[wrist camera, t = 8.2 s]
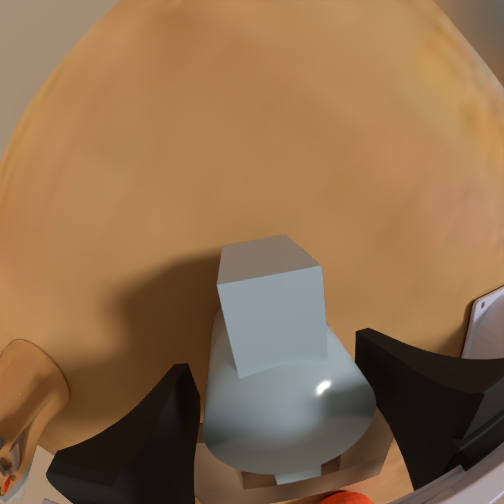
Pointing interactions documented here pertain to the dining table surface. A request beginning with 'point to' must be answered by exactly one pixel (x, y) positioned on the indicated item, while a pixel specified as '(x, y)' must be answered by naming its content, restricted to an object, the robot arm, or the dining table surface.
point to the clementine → (347, 498)
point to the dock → (267, 491)
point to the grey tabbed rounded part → (279, 367)
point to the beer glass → (25, 411)
